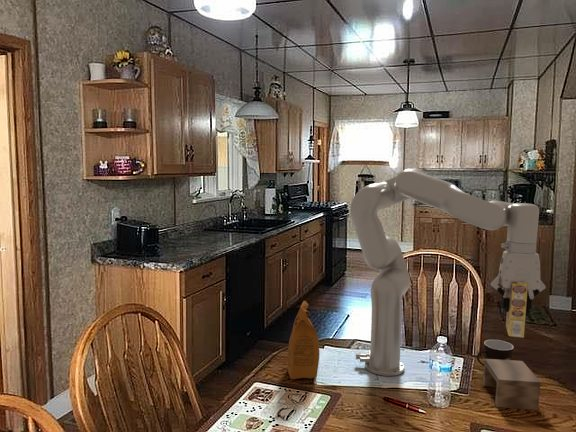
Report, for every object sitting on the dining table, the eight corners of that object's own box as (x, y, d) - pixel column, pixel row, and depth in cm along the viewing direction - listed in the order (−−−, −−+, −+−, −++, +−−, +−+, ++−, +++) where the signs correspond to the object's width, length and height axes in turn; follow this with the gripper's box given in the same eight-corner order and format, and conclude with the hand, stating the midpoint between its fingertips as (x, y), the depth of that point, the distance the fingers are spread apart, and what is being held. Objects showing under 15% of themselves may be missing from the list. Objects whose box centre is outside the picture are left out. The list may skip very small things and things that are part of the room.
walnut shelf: (496, 406, 140) (498, 379, 139) (482, 383, 153) (484, 358, 152) (538, 409, 138) (540, 382, 137) (520, 386, 152) (522, 360, 151)
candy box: (524, 338, 139) (529, 284, 136) (507, 336, 140) (512, 282, 138) (520, 327, 147) (524, 276, 145) (504, 326, 148) (508, 275, 146)
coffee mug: (506, 369, 164) (508, 340, 162) (515, 381, 155) (517, 350, 154) (469, 367, 165) (471, 338, 163) (476, 379, 156) (478, 348, 155)
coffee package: (318, 364, 165) (319, 299, 162) (319, 382, 153) (321, 312, 150) (287, 363, 165) (289, 298, 163) (286, 380, 153) (287, 311, 150)
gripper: (493, 249, 137) (488, 313, 140) (558, 251, 136) (552, 316, 138) (485, 244, 145) (481, 305, 147) (547, 246, 143) (542, 308, 145)
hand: (515, 310), depth 143 cm, fingers closed on candy box, 4 cm apart
